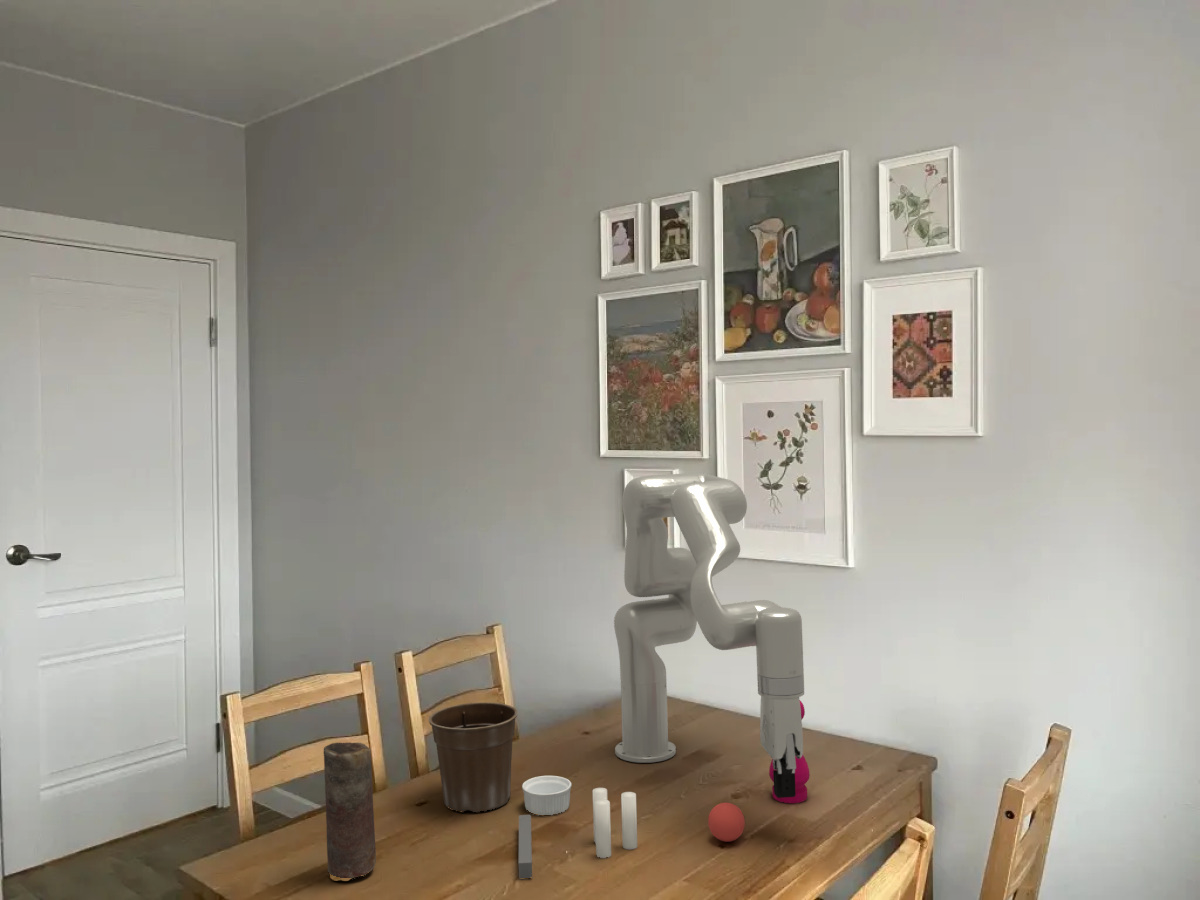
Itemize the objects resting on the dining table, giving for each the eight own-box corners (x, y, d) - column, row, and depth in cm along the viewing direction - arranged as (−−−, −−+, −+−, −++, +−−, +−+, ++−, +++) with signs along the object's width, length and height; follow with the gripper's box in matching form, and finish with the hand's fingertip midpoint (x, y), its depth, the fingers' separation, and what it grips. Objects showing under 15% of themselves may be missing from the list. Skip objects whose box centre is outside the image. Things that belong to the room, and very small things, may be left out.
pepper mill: (810, 805, 172) (807, 694, 172) (769, 803, 174) (766, 693, 173) (809, 790, 179) (807, 683, 179) (770, 788, 181) (767, 682, 180)
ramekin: (579, 801, 178) (578, 777, 178) (561, 820, 170) (560, 796, 169) (534, 796, 181) (533, 773, 181) (514, 815, 172) (514, 791, 172)
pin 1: (593, 838, 161) (592, 788, 161) (607, 837, 162) (606, 787, 161) (594, 844, 159) (593, 793, 159) (609, 844, 159) (607, 792, 159)
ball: (705, 833, 162) (704, 797, 162) (740, 831, 163) (739, 795, 162) (712, 849, 156) (711, 812, 156) (749, 846, 157) (748, 810, 157)
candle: (333, 863, 155) (328, 739, 155) (379, 859, 156) (375, 736, 155) (323, 885, 148) (318, 755, 147) (372, 882, 148) (367, 753, 148)
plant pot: (413, 803, 179) (410, 716, 178) (481, 777, 191) (478, 696, 190) (470, 826, 168) (467, 734, 167) (538, 798, 179) (535, 711, 179)
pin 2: (595, 851, 156) (594, 799, 156) (610, 851, 157) (609, 799, 156) (596, 858, 154) (595, 805, 154) (611, 857, 154) (610, 804, 154)
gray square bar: (519, 829, 166) (519, 815, 166) (531, 829, 166) (530, 814, 166) (519, 879, 148) (518, 863, 148) (532, 878, 148) (531, 862, 148)
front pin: (622, 843, 159) (620, 792, 159) (636, 842, 160) (635, 791, 159) (623, 849, 157) (622, 798, 157) (638, 848, 157) (636, 797, 157)
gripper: (747, 674, 166) (751, 781, 167) (769, 697, 151) (774, 814, 152) (790, 672, 167) (794, 778, 167) (816, 694, 152) (821, 811, 152)
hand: (784, 795), depth 159 cm, fingers closed
